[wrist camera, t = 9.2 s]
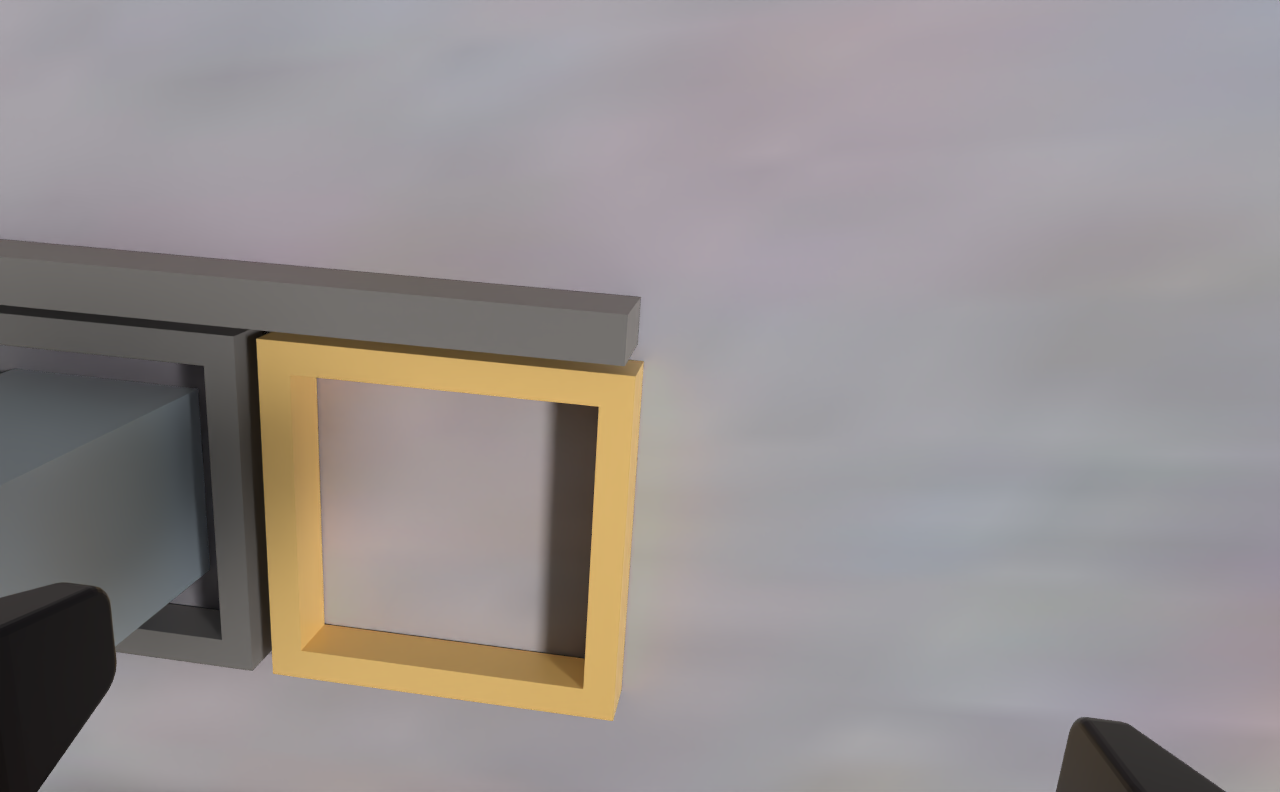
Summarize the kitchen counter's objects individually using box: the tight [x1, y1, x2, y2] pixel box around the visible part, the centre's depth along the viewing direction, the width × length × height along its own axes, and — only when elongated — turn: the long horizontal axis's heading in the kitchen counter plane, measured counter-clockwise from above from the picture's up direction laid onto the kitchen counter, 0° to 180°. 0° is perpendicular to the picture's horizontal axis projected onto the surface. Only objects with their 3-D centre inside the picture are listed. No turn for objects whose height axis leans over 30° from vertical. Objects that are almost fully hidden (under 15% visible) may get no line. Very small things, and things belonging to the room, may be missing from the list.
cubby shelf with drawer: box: [0, 239, 644, 721], centre depth 22 cm, size 9×16×2 cm, turn 86°
